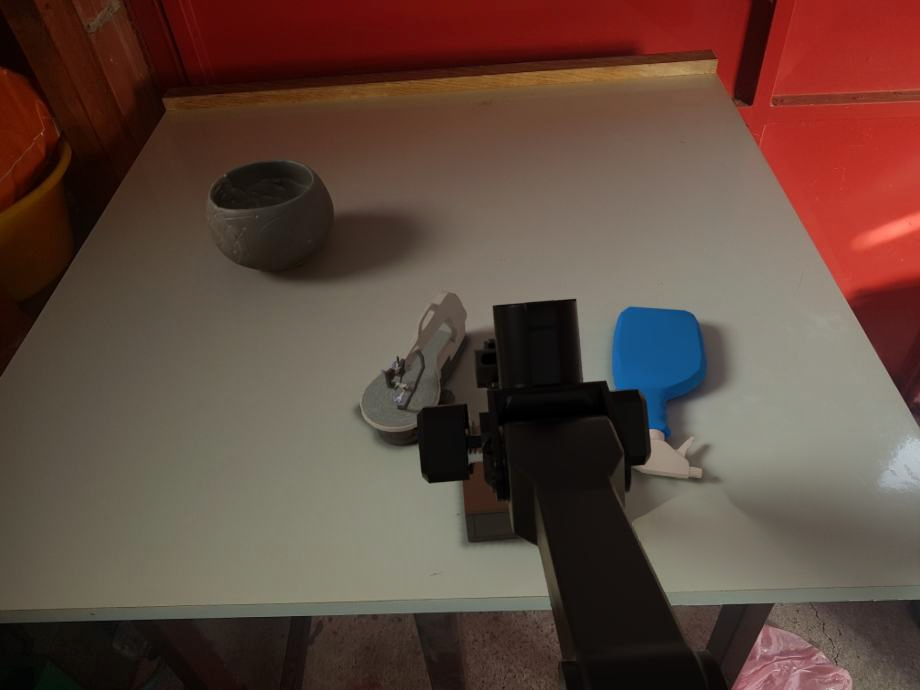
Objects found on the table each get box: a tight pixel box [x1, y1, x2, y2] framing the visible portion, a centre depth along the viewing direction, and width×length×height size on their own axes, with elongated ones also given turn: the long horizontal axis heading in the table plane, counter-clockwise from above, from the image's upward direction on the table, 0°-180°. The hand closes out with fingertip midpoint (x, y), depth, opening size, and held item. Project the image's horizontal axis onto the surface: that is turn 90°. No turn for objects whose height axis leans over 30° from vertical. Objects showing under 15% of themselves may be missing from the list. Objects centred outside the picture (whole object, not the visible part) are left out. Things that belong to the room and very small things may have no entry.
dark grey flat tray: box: [464, 511, 520, 543], centre depth 70 cm, size 10×13×5 cm
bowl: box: [205, 158, 335, 272], centre depth 102 cm, size 18×18×13 cm
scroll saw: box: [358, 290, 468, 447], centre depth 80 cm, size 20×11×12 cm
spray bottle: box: [611, 305, 707, 479], centre depth 80 cm, size 3×11×24 cm
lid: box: [462, 423, 509, 516], centre depth 67 cm, size 10×13×5 cm
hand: (524, 425), depth 66 cm, fingers open, 9 cm apart
